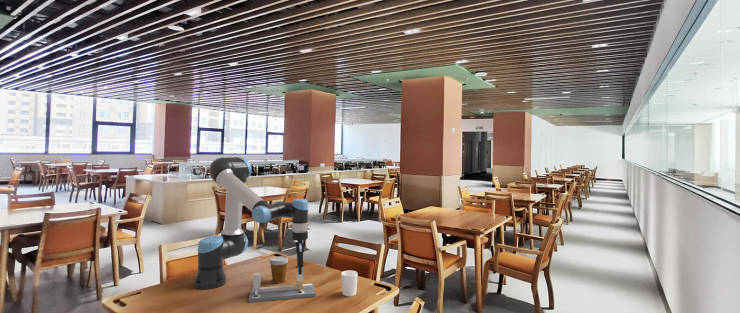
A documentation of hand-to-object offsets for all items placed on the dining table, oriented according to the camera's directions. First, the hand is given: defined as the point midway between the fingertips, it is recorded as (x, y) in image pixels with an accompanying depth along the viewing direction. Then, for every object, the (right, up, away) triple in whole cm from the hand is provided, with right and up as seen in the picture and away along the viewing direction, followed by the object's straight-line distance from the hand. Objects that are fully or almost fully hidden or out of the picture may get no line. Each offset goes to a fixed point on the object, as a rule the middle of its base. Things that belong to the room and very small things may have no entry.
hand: (299, 279), depth 174 cm
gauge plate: (-7, -6, -4) cm, 10 cm away
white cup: (+24, -7, -2) cm, 25 cm away
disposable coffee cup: (-14, -6, +13) cm, 20 cm away
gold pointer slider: (0, -4, -2) cm, 5 cm away
